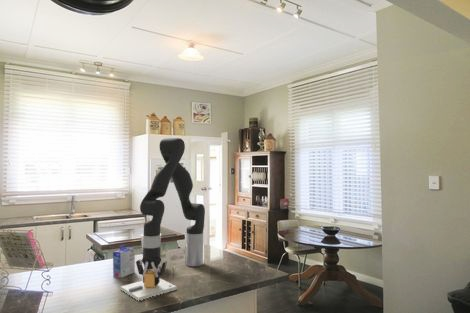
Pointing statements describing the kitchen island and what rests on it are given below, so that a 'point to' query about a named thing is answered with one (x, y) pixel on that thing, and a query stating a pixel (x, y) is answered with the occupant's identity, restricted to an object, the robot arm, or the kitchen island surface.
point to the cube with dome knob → (149, 278)
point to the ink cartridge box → (123, 262)
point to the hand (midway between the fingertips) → (151, 284)
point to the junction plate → (147, 289)
